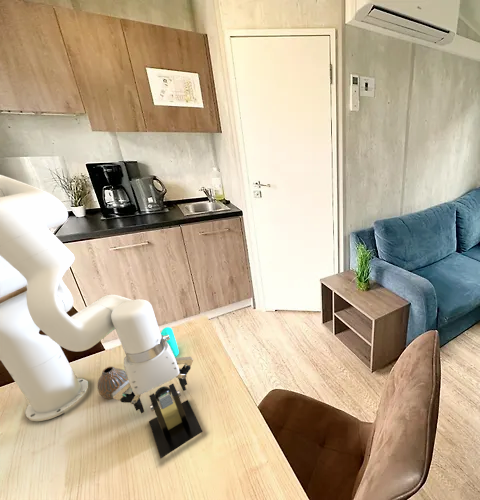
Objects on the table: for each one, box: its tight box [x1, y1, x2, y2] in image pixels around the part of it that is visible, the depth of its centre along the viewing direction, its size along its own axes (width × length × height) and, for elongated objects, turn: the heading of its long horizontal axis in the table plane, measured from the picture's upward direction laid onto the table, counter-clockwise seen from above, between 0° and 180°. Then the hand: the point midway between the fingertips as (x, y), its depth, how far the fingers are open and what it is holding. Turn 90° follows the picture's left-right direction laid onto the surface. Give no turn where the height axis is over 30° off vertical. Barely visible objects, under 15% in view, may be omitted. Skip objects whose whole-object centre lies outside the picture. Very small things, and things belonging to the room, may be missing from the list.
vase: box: [96, 366, 129, 400], centre depth 78 cm, size 7×7×9 cm
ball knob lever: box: [154, 386, 174, 409], centre depth 70 cm, size 13×4×4 cm
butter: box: [160, 401, 182, 430], centre depth 71 cm, size 5×4×3 cm
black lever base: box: [148, 383, 203, 460], centre depth 68 cm, size 12×9×12 cm
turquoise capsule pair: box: [160, 326, 180, 358], centre depth 90 cm, size 10×10×10 cm
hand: (163, 397), depth 75 cm, fingers open, 9 cm apart
